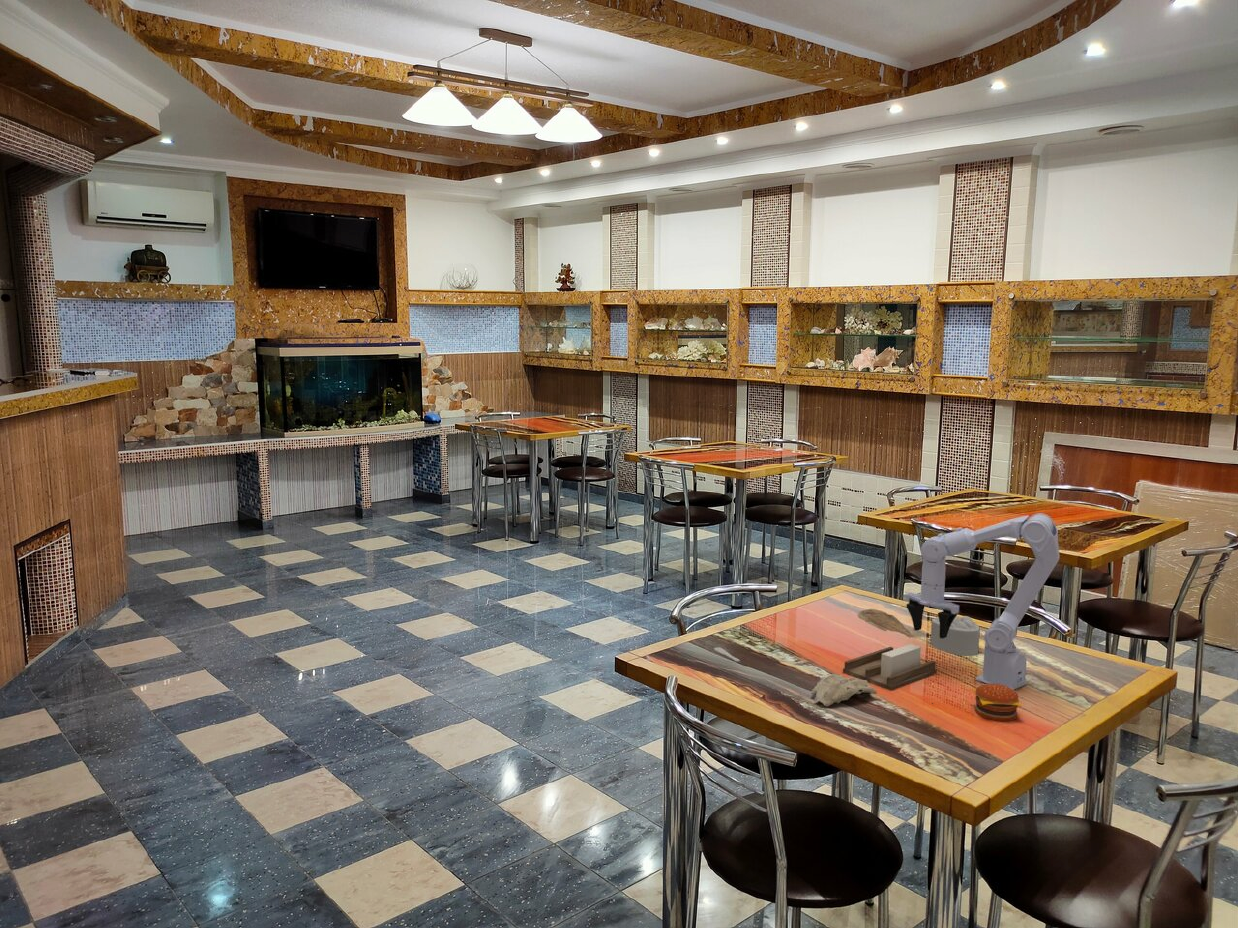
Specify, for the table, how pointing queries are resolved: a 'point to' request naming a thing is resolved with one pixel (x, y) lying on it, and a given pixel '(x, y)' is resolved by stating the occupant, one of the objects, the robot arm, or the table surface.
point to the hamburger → (996, 702)
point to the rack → (871, 671)
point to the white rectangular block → (900, 660)
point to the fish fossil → (883, 621)
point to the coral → (839, 689)
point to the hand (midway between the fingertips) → (930, 633)
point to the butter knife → (725, 653)
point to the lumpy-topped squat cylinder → (957, 637)
